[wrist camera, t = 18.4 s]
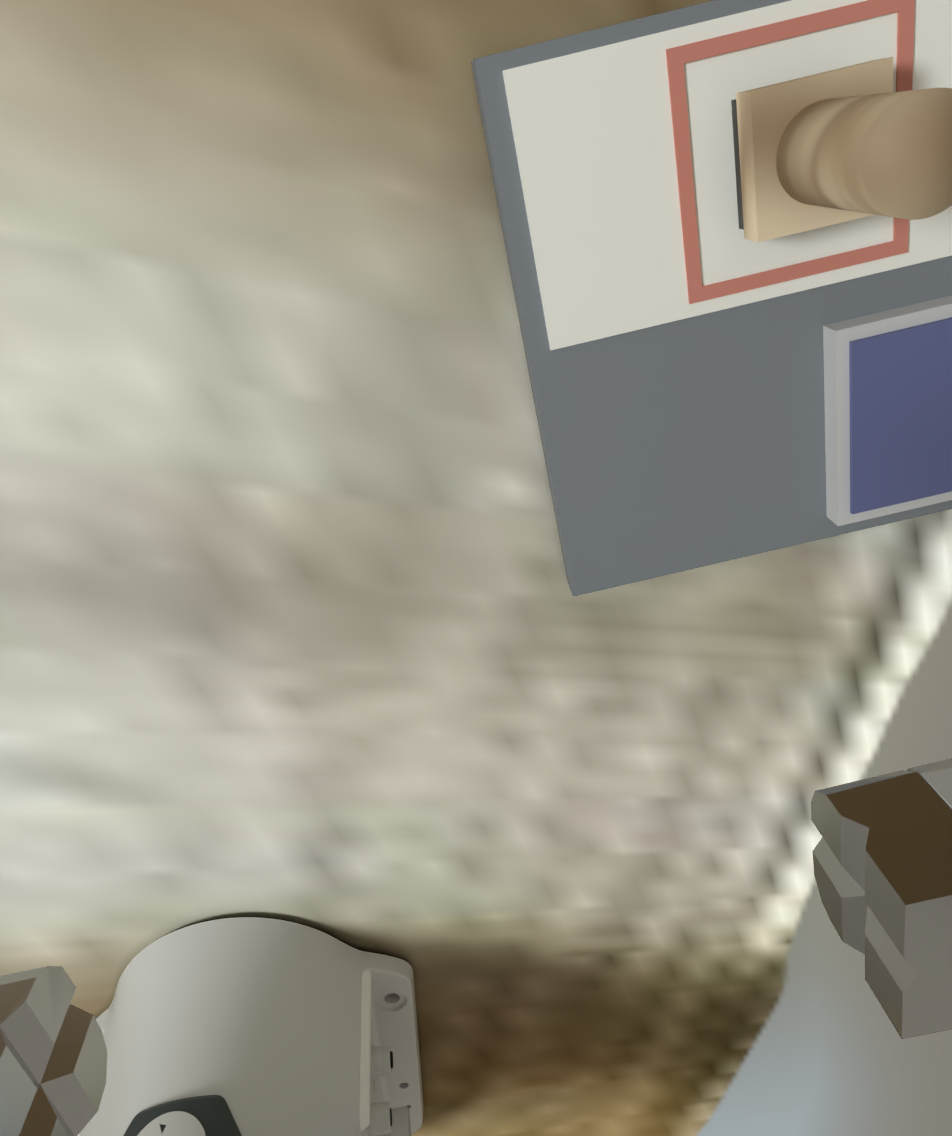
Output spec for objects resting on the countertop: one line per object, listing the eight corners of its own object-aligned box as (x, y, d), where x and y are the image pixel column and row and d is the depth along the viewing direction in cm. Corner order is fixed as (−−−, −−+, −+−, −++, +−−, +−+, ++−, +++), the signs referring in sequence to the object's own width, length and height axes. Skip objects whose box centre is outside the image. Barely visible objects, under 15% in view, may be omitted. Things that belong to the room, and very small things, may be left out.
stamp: (856, 206, 29) (1006, 227, 22) (733, 235, 29) (842, 265, 22) (857, 62, 27) (1021, 34, 20) (724, 94, 27) (841, 77, 20)
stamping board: (1017, 478, 36) (1056, 499, 34) (567, 583, 37) (578, 610, 34) (1072, -85, 27) (1130, -104, 25) (471, 62, 27) (477, 55, 25)
